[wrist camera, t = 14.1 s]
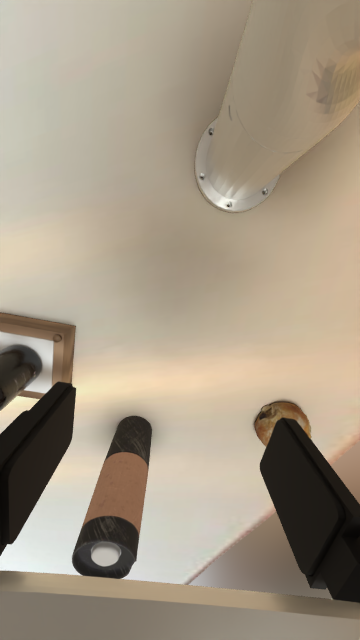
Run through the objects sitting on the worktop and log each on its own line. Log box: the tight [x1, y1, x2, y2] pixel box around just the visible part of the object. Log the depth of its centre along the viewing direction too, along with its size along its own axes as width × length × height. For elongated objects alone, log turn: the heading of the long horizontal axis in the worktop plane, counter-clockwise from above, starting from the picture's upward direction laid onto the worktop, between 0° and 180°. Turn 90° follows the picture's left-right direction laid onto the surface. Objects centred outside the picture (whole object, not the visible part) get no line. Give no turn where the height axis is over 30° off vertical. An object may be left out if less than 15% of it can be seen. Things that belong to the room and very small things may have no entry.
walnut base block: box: [0, 313, 76, 399], centre depth 37 cm, size 13×13×4 cm
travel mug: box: [72, 416, 152, 579], centre depth 34 cm, size 8×8×20 cm
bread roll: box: [255, 402, 311, 447], centre depth 42 cm, size 10×10×8 cm
